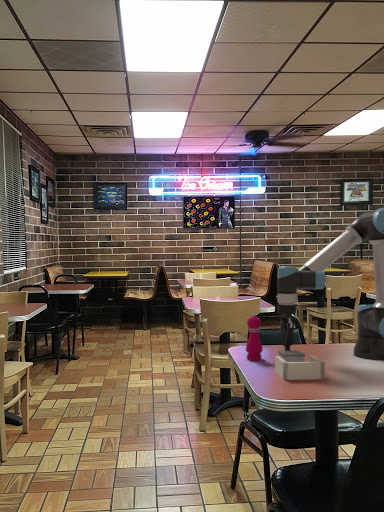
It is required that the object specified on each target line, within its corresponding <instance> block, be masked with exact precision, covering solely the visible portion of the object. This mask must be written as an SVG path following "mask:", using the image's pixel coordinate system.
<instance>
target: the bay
mask: <svg viewBox="0 0 384 512" xmlns="http://www.w3.org/2000/svg"><path fill="white" fill-rule="evenodd" d="M274 363H275V364H274V367H275V368H274V369H275V371H274V372H275V373H276V374H277V375H278V376H279V377H280V378H281V379H283V381H298V380H300V381H301V380H305V381H307V380H325V378H326V376H325V375H326V373H325V372H326V371H325V365H326V364H325V362H324V361H323V360H321V359H320V358H318V357H316V356H315V355H314V354H312V355H311V354H310V355H309V359H308V361H304V362H286V361H285V360H284V359H282V358H281V357H280V356H279V355H275V357H274Z"/></svg>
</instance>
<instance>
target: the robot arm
mask: <svg viewBox="0 0 384 512" xmlns="http://www.w3.org/2000/svg"><path fill="white" fill-rule="evenodd" d="M366 240H368V243H369V244H371V245H372V254H373V256H372V257H373V273H374V277H373V278H374V289H375V290H374V291H375V292H374V293H375V294H374V295H375V302H374V303H373V304H360V305H358V306H357V312H356V314H357V315H356V317H357V319H356V320H357V321H356V322H357V323H356V324H357V339H356V342H355V344H354V346H353V355H354V356H355V357H357V358H361V359H367V360H368V359H369V360H384V207H380V208H376V209H373V210H368V211H366V212H363V213H361V214H360V215H359V216H358V217H357V218H355V219H354V220H353V221H352V222H350V224H349V225H347V226H346V227H345V231H343V233H341V234H339V235H338V237H336V238H335V239H334V240H332V241H331V242H330V243H328V244H327V245H326V246H325V247H324V248H322V249H321V250H320V251H318V253H316V254H315V255H313V257H311V258H310V259H309V260H308V261H306V262H305V263H303V265H302V266H300V267H298V268H297V267H296V266H293V265H292V266H290V265H289V266H287V265H285V266H284V265H282V266H281V265H280V266H279V267H278V268H277V276H276V278H277V280H276V281H277V282H276V283H277V295H276V296H275V297H276V299H277V303H278V304H277V305H276V306H277V308H276V309H277V313H278V314H280V315H281V317H280V318H279V325H280V326H279V327H280V328H279V329H280V342H281V343H282V350H291V347H292V346H293V340H294V330H295V329H294V328H295V322H294V321H293V320H294V319H293V317H292V315H295V314H297V305H296V303H297V290H323V289H325V287H326V284H327V277H326V273H324V271H325V270H326V269H328V268H329V267H330V266H332V265H333V264H334V263H335V262H336V261H337V260H339V259H340V258H342V257H343V256H344V255H345V254H347V252H349V251H350V250H351V249H353V248H354V247H355V246H356V245H361V244H362V243H363V242H365V241H366Z"/></svg>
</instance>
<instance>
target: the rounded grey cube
mask: <svg viewBox="0 0 384 512" xmlns="http://www.w3.org/2000/svg"><path fill="white" fill-rule="evenodd" d="M278 356H280V357H281V358H282V359H284V360H285V361H286V362H305V357H306V354H305V353H304V352H302V351H301V350H300V349H292V350H291V349H290V350H283V349H282V350H278Z"/></svg>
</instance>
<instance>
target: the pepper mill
mask: <svg viewBox="0 0 384 512" xmlns="http://www.w3.org/2000/svg"><path fill="white" fill-rule="evenodd" d="M246 324H247V326H248V333H249V337H248V341H247V343H246V345H245V352H246V353H247V354H246V359H247V360H248V361H254V362H257V361H261V360H262V352H263V345H262V342H261V339H260V336H259V335H260V332H261V330H260V329H261V328H260V327H261V325H262V320H261V318H259V317H258V316H257V313H255V312H253V313H252V314H251V316H250V317H249V318H248V319H247V323H246Z"/></svg>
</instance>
